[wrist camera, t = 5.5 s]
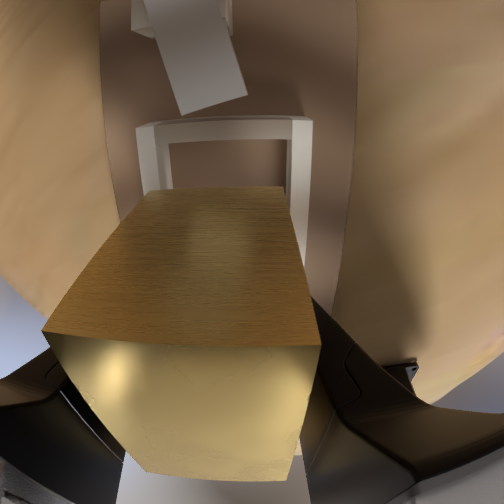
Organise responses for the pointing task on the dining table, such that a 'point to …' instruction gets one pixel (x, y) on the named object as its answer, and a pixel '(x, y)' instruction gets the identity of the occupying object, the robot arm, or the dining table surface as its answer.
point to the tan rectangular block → (196, 334)
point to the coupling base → (237, 108)
